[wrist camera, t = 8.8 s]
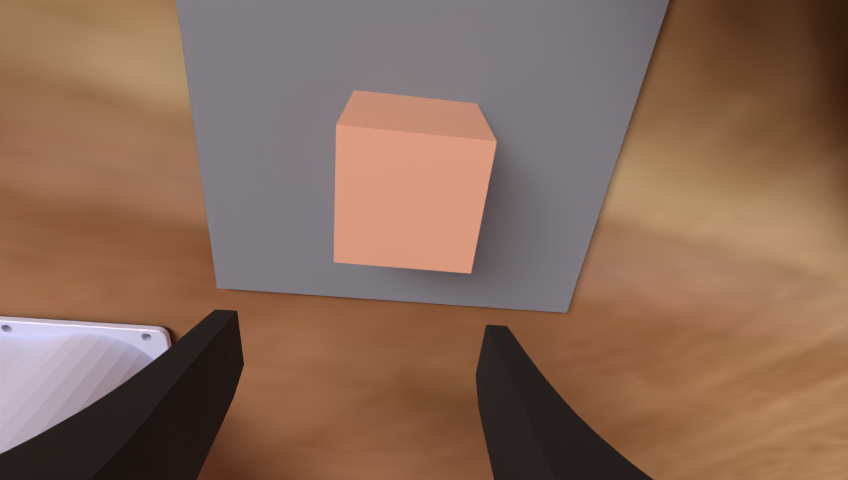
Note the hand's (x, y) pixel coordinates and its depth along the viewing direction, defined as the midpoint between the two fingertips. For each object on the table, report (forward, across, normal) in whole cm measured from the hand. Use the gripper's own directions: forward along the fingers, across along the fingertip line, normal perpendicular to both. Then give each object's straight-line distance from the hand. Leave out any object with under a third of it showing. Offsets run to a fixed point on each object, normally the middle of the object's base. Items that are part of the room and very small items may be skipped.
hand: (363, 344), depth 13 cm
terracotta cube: (+9, -1, -3) cm, 9 cm away
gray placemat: (+9, -1, -3) cm, 10 cm away
